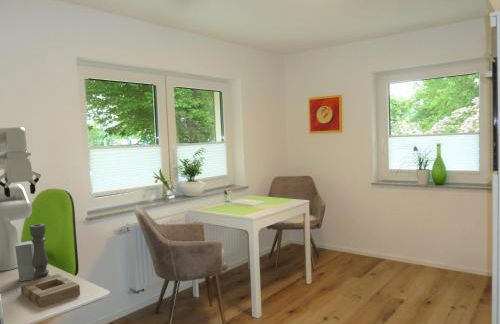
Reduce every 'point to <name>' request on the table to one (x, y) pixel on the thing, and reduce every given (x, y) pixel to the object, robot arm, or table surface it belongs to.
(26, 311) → the table surface
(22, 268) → the skincare box
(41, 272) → the candle holder
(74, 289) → the holder board
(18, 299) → the table surface
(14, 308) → the table surface
